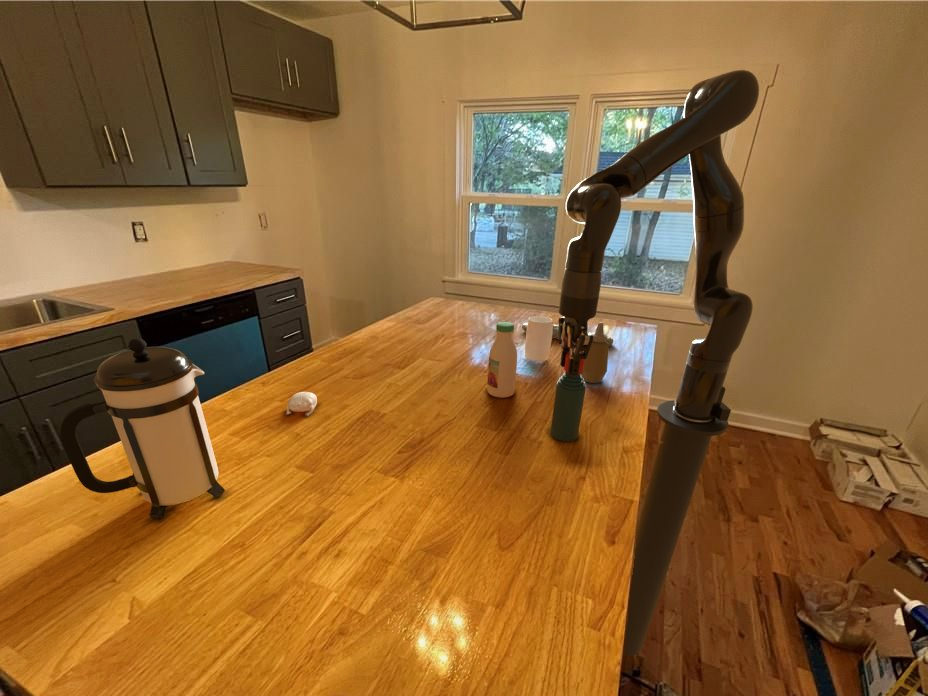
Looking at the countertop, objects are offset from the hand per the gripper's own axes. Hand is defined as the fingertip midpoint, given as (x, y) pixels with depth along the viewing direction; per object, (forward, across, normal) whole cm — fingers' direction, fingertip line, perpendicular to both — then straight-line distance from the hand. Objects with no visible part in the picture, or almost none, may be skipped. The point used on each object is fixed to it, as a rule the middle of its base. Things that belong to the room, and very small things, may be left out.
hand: (568, 369), depth 93 cm
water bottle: (+17, 0, -1) cm, 17 cm away
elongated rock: (+17, +66, -26) cm, 73 cm away
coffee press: (+17, -14, +78) cm, 81 cm away
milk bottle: (+17, +23, +9) cm, 30 cm away
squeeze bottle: (+17, +29, -20) cm, 39 cm away
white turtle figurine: (+17, +18, +62) cm, 67 cm away
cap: (0, 0, -1) cm, 1 cm away
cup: (+17, +45, -8) cm, 49 cm away
